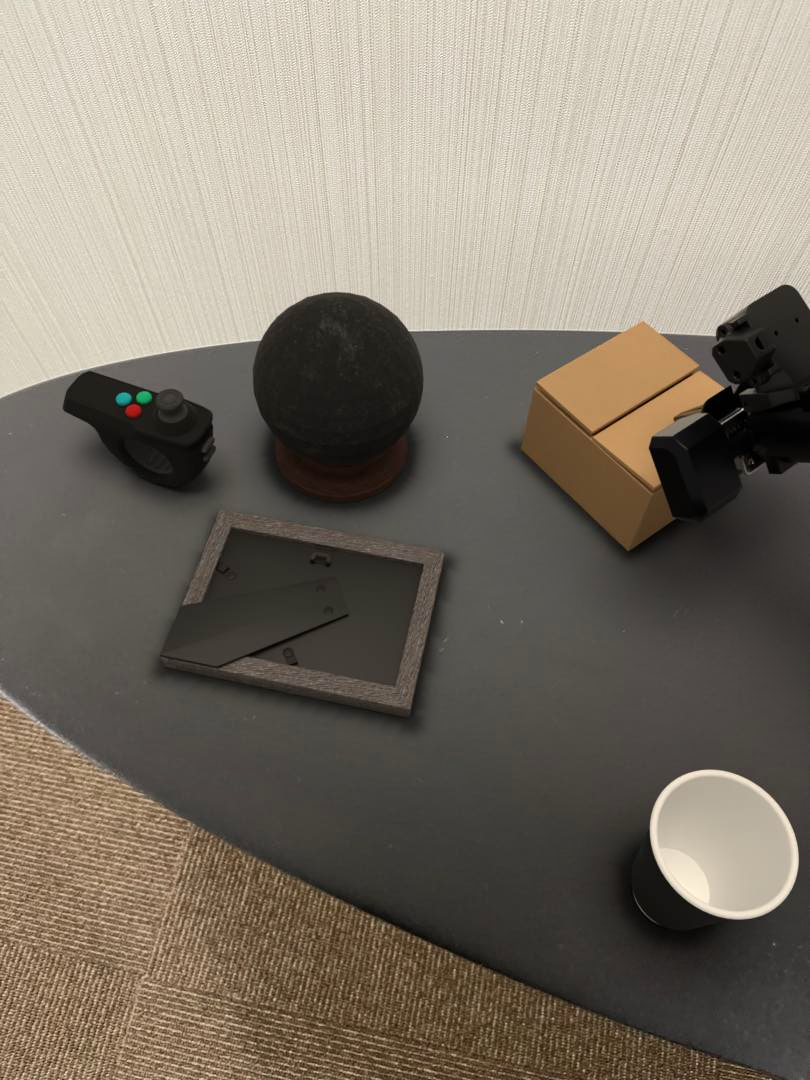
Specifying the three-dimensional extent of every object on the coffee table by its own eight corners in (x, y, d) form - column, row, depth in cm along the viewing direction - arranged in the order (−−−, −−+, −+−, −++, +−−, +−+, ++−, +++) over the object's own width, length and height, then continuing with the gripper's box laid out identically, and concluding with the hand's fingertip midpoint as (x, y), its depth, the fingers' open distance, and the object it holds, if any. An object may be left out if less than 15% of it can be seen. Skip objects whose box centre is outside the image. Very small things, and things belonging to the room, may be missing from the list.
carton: (728, 481, 77) (764, 415, 70) (628, 551, 72) (654, 488, 65) (620, 389, 82) (642, 319, 75) (520, 449, 78) (534, 381, 71)
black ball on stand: (386, 532, 73) (389, 404, 60) (237, 484, 75) (210, 351, 62) (439, 416, 80) (452, 280, 67) (301, 376, 82) (289, 237, 69)
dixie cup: (734, 967, 55) (806, 931, 46) (604, 943, 56) (649, 903, 47) (729, 837, 60) (794, 781, 51) (609, 817, 60) (651, 757, 51)
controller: (208, 511, 73) (186, 430, 65) (77, 462, 76) (41, 377, 67) (234, 473, 75) (216, 389, 67) (107, 426, 78) (75, 340, 70)
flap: (761, 419, 70) (762, 415, 70) (653, 491, 66) (654, 487, 65) (698, 373, 73) (699, 370, 73) (591, 440, 69) (592, 436, 69)
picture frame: (165, 667, 65) (409, 718, 64) (159, 654, 64) (410, 706, 62) (223, 520, 73) (443, 562, 71) (219, 505, 71) (445, 548, 70)
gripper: (925, 232, 56) (729, 273, 70) (721, 358, 49) (550, 375, 63) (963, 397, 59) (769, 405, 73) (777, 536, 53) (602, 515, 67)
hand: (678, 421), depth 69 cm, fingers closed, pressing on flap
